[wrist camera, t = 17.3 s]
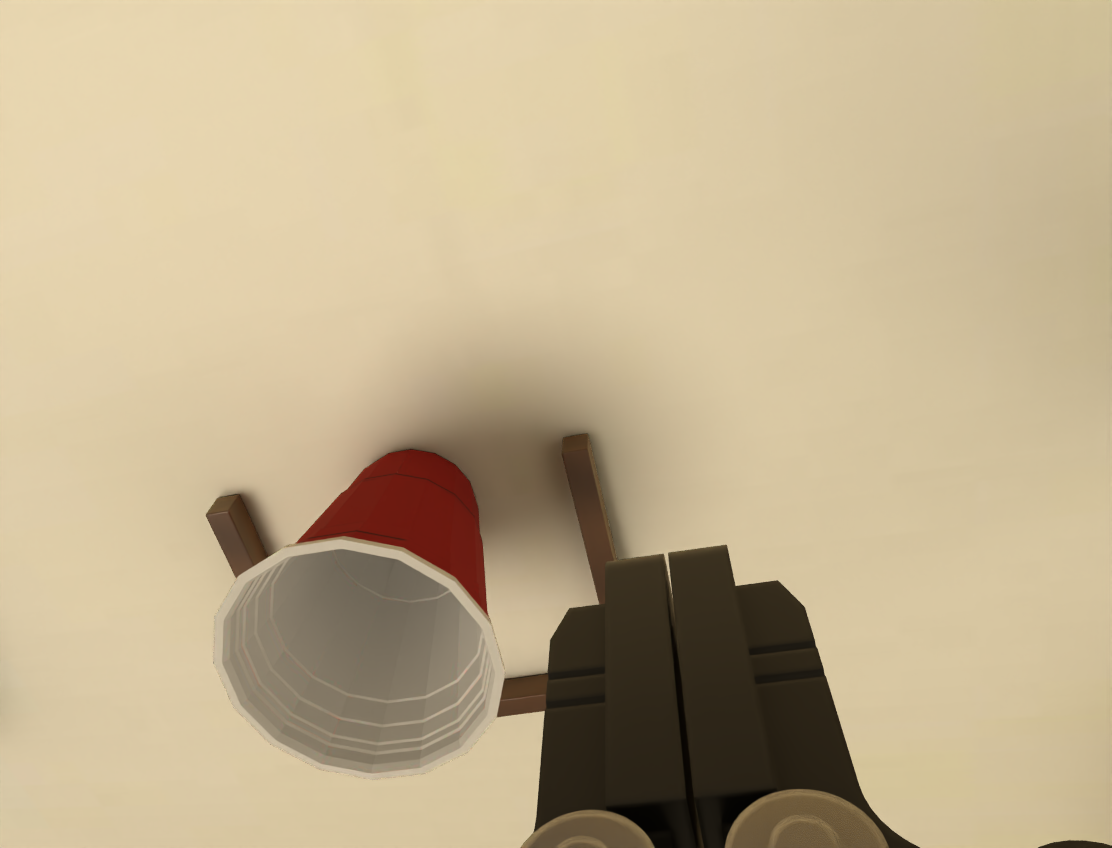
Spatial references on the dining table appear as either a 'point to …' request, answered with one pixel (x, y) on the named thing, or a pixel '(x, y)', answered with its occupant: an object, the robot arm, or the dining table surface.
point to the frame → (590, 508)
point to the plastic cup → (370, 628)
